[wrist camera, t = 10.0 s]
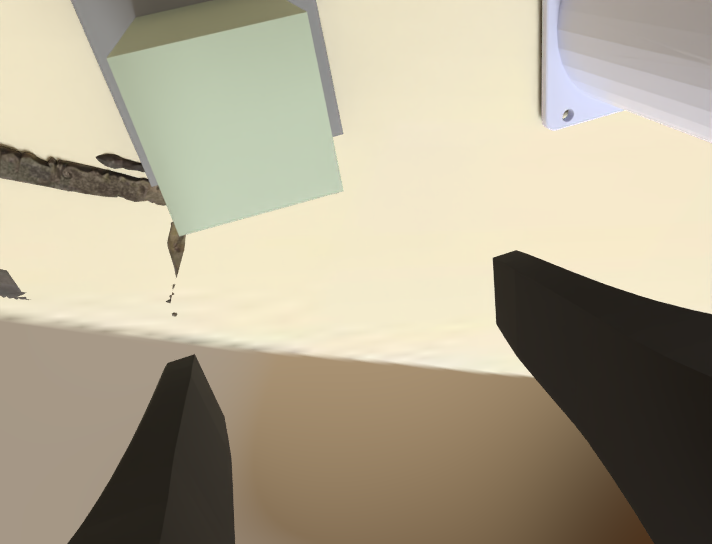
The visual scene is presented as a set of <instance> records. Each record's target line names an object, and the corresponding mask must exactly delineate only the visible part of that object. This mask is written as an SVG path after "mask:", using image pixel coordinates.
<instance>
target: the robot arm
mask: <svg viewBox="0 0 712 544" xmlns="http://www.w3.org/2000/svg"><path fill="white" fill-rule="evenodd" d="M566 110H568V111H569V112H568V115H567V116H566V118H564V119H563V118H562V117H563V114H564V112H565V111H566ZM624 110H626V111H628V112H631V113H634V114H636V115H639V116H642V117H644V118H647V119H650V120H652V121H655V122H657V123H660V124H663V125H665V126H668V127H671V128H673V129H676V130H679V131H681V132H684V133H686V134H689V135H692V136H694V137H697V138H700V139H702V140H705V141H708V142H710V143H712V0H542V124H543V125H544V127H546V128H548V129H550V130H558V129H562V128H565V127H569V126H572V125H576V124H579V123H582V122H586V121H589V120H593V119H596V118H600V117H603V116H607V115H610V114H614V113H617V112H621V111H624ZM493 270H494V288H495V307H496V324H497V326H498V327H499V329H500V331H501V332H502V334H503V335H504V337H505V339H506V340H507V342H508V344H509V345H510V347H511V348H512V350H513V351H514V353H515V354H516V356H517V357H518V358H519V360H520V361H521V362H522V363H523V364H524V366H525V367H526V368H527V369H528V370H529V372H530V373H531V374H532V375H533V376H534V378H535V379H536V380H537V381H538V382H539V383H540V385H541V386H542V387H543V388H544V389H545V390H546V392H547V393H548V394H549V395H550V396H551V398H552V399H553V400H554V401H555V402H556V403H557V405H558V406H559V407H560V408H561V409H562V410H563V412H565V414H566V415H567V416H568V417H569V419H570V420H571V421H572V422H573V423H574V424H575V426H576V427H577V428H578V430H579V431H580V432H581V433H582V435H583V436H584V437H585V439H586V440H587V441H588V442H589V444H590V446H591V447H592V449H593V450H594V451H595V453H596V454H597V456H598V457H599V459H600V460H601V461H602V463H603V465H604V466H605V467H606V469H607V470H608V472H609V473H610V475H611V476H612V478H613V479H614V480H615V482H616V484H617V485H618V487H619V488H620V490H621V492H622V493H623V494H624V496H625V498H626V499H627V501H628V502H629V504H630V505H631V507H632V508H633V510H634V511H635V513H636V515H637V516H638V518H639V520H640V521H641V523H642V524H643V526H644V528H645V529H646V531H647V533H648V534H649V536H650V538H651V539H652V541H653V542H654V544H712V314H708V313H704V312H699V311H694V310H690V309H686V308H682V307H678V306H674V305H670V304H666V303H663V302H659V301H655V300H652V299H648V298H645V297H642V296H639V295H636V294H633V293H629V292H626V291H623V290H620V289H617V288H614V287H611V286H609V285H606V284H603V283H600V282H597V281H595V280H592V279H589V278H587V277H584V276H582V275H579V274H576V273H574V272H571V271H569V270H566V269H564V268H561V267H559V266H556V265H554V264H551V263H549V262H546V261H544V260H541V259H539V258H536V257H534V256H531V255H528V254H526V253H523V252H520V251H517V250H516V251H512V252H509V253H506V254H503V255H500V256H497V257H494V258H493ZM233 509H234V508H233V483H232V462H231V453H230V447H229V440H228V434H227V429H226V423H225V418H224V415H223V413H222V411H221V409H220V407H219V404H218V403H217V400H216V398H215V396H214V394H213V392H212V390H211V388H210V385H209V383H208V381H207V379H206V377H205V375H204V373H203V371H202V369H201V367H200V364H199V362H198V360H197V358H196V356H195V354H194V355H191V356H188V357H185V358H182V359H179V360H176V361H173V362H170V363H168V364H167V365H166V367H165V369H164V371H163V373H162V375H161V378H160V380H159V382H158V385H157V387H156V389H155V392H154V394H153V396H152V398H151V400H150V403H149V405H148V407H147V409H146V412H145V414H144V416H143V418H142V420H141V422H140V424H139V426H138V428H137V430H136V432H135V434H134V436H133V438H132V441H131V442H130V444H129V446H128V448H127V450H126V452H125V454H124V455H123V457H122V459H121V461H120V463H119V465H118V466H117V468H116V470H115V472H114V474H113V475H112V477H111V479H110V481H109V482H108V484H107V486H106V487H105V489H104V491H103V492H102V494H101V496H100V497H99V499H98V501H97V502H96V504H95V505H94V507H93V508H92V510H91V511H90V513H89V514H88V516H87V517H86V519H85V521H84V522H83V523H82V525H81V526H80V528H79V529H78V530H77V532H76V533H75V534H74V536H73V537H72V538H71V540H70V541H69V542H68V544H235V534H234V533H235V532H234V510H233Z"/></svg>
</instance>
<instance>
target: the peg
mask: <svg viewBox="0 0 712 544" xmlns="http://www.w3.org/2000/svg"><path fill="white" fill-rule="evenodd" d="M106 59H107V61H108V63H109V66H110V68H111V71H112V73H113V76H114V78H115V81H116V83H117V85H118V88H119V90H120V93H121V95H122V98H123V100H124V103H125V105H126V107H127V110H128V112H129V115H130V117H131V120H132V122H133V125H134V127H135V129H136V132H137V134H138V137H139V139H140V142H141V144H142V147H143V149H144V151H145V154H146V156H147V159H148V161H149V164H150V166H151V168H152V171H153V173H154V176H155V178H156V181H157V183H158V186H159V188H160V190H161V193H162V195H163V198H164V200H165V203H166V205H167V208H168V210H169V212H170V215H171V217H172V220H173V222H174V225H175V227H176V230H177V232H178V234H179V236H183V235H186V234H190V233H194V232H197V231H201V230H205V229H208V228H212V227H215V226H219V225H223V224H226V223H230V222H233V221H237V220H241V219H244V218H248V217H252V216H255V215H259V214H262V213H266V212H270V211H273V210H277V209H280V208H284V207H288V206H291V205H295V204H299V203H302V202H306V201H309V200H313V199H317V198H320V197H324V196H327V195H331V194H335V193H338V192H342V191H343V186H342V181H341V176H340V171H339V166H338V161H337V156H336V151H335V147H334V142H333V137H332V132H331V127H330V122H329V117H328V112H327V107H326V102H325V98H324V93H323V88H322V83H321V78H320V73H319V68H318V63H317V58H316V53H315V48H314V44H313V39H312V34H311V29H310V24H309V19H308V14H307V12H306V11H305V10H303V9H301V8H299V7H297V6H296V5H294V4H292V3H290V2H289V1H287V0H212V1H207V2H203V3H198V4H194V5H189V6H185V7H180V8H176V9H171V10H167V11H162V12H158V13H153V14H149V15H144V16H140V17H136V18H135V19H134V20H133V22H132V23H131V24H130V26H129V27H128V29H127V30H126V31H125V33H124V34H123V36H122V37H121V38H120V40H119V41H118V43H117V44H116V45H115V47H114V48H113V50H112V51H111V52H110V54H109V55H108V57H107V58H106Z"/></svg>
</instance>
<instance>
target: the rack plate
mask: <svg viewBox="0 0 712 544" xmlns="http://www.w3.org/2000/svg"><path fill="white" fill-rule="evenodd" d="M207 1H212V0H71V2H72V4H73V6H74V9H75V11H76V13H77V16H78V18H79V20H80V23H81V25H82V27H83V29H84V32H85V34H86V36H87V39H88V41H89V43H90V46H91V48H92V50H93V53H94V55H95V57H96V59H97V62H98V64H99V66H100V69H101V71H102V73H103V76H104V78H105V80H106V83H107V85H108V87H109V89H110V92H111V94H112V96H113V99H114V101H115V103H116V106H117V108H118V110H119V113H120V115H121V117H122V120H123V122H124V124H125V126H126V129H127V131H128V133H129V136H130V138H131V140H132V143H133V145H134V147H135V150H136V152H137V154H138V156H139V159H140V161H141V163H142V166H143V168H144V170H145V173H146V175H147V177H148V180H149V182H150V184H151V186H152V187H153V186H157V185H158V183H157V181H156V178H155V176H154V173H153V171H152V168H151V166H150V164H149V161H148V159H147V156H146V154H145V151H144V149H143V147H142V144H141V142H140V139H139V137H138V134H137V132H136V129H135V127H134V125H133V122H132V120H131V117H130V115H129V112H128V110H127V107H126V105H125V103H124V100H123V98H122V95H121V93H120V90H119V88H118V85H117V83H116V81H115V78H114V76H113V73H112V71H111V68H110V66H109V63H108V61H107V59H106V58H107V57H108V55H109V54H110V52H111V51H112V50H113V48H114V47H115V45H116V44H117V43H118V41H119V40H120V38H121V37H122V36H123V34H124V33H125V31H126V30H127V29H128V27H129V26H130V24H131V23H132V22H133V20H134V19H135V18H136V17H140V16H144V15H149V14H153V13H158V12H162V11H167V10H171V9H176V8H180V7H185V6H189V5H194V4H198V3H203V2H207ZM287 1H289V2H290V3H292V4H294V5H296V6H297V7H299V8H301V9H303V10H305V11H306V12H307V14H308V19H309V24H310V29H311V34H312V39H313V44H314V48H315V53H316V58H317V63H318V68H319V73H320V78H321V83H322V88H323V93H324V98H325V102H326V107H327V112H328V117H329V122H330V127H331V132H332V137H334V136H338V135H342V134H343V130H342V125H341V120H340V115H339V110H338V106H337V101H336V96H335V91H334V86H333V81H332V76H331V71H330V67H329V62H328V57H327V52H326V47H325V42H324V37H323V32H322V28H321V23H320V18H319V13H318V8H317V3H316V0H287Z"/></svg>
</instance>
